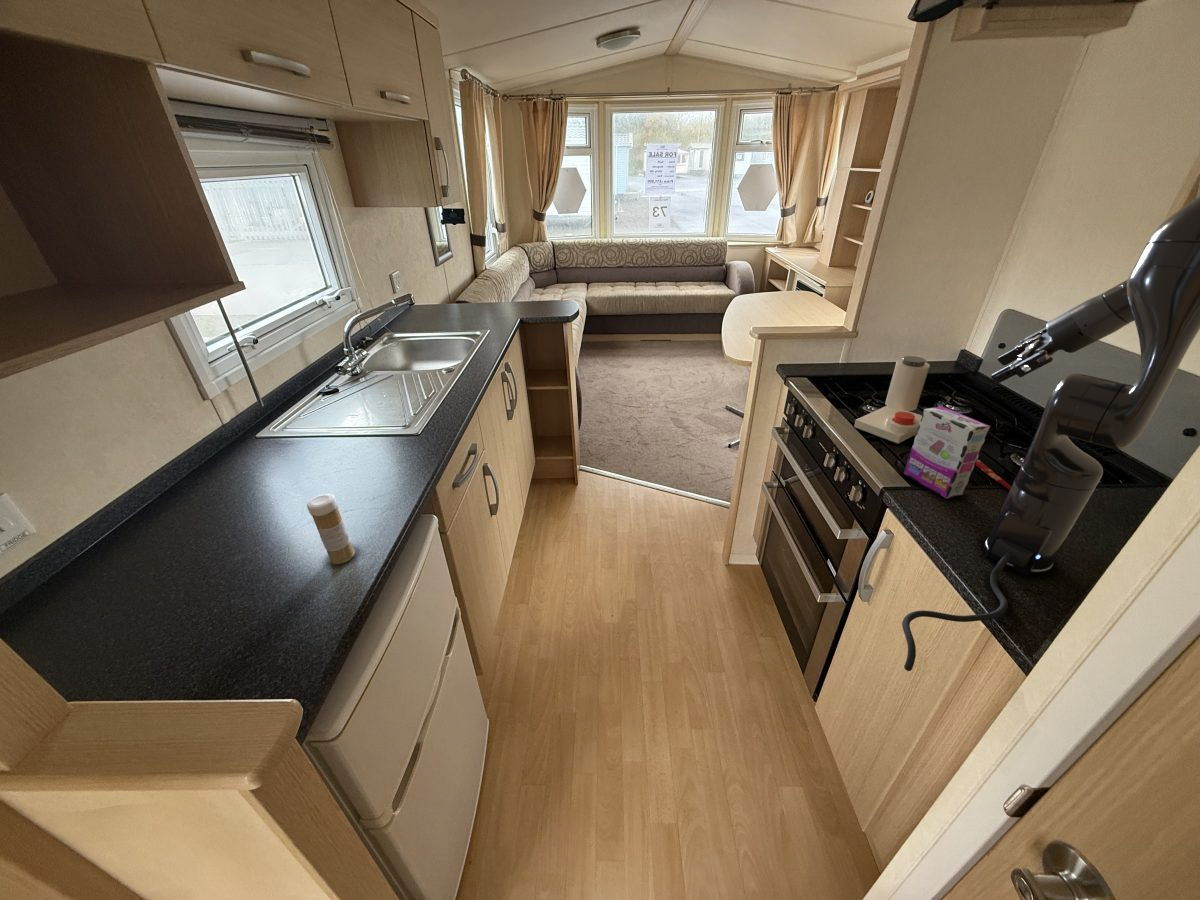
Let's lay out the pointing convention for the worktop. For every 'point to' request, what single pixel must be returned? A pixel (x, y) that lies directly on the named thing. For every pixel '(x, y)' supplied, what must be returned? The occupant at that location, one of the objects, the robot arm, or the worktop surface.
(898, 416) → the switch
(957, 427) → the candy bar box
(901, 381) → the white canister
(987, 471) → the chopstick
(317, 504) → the sprinkles bottle
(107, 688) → the worktop surface
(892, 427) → the cream square base
